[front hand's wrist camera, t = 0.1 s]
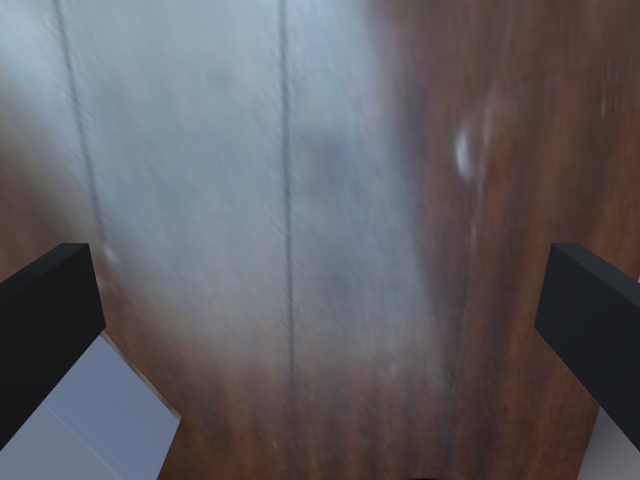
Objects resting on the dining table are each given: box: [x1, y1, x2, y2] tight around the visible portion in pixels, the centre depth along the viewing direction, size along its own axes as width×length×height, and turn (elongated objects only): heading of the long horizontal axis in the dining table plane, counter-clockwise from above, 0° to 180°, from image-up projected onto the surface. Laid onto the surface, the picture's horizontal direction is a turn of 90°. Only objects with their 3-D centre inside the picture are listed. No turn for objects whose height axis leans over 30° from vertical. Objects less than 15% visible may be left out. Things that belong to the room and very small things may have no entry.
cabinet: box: [0, 331, 182, 480], centre depth 43 cm, size 18×11×11 cm, turn 31°
